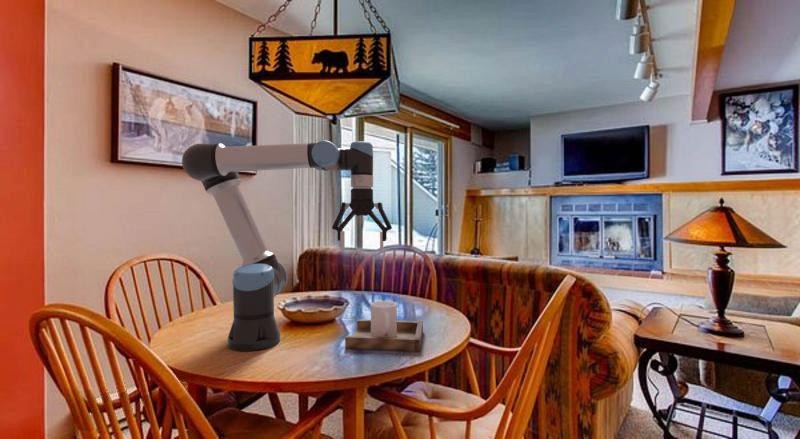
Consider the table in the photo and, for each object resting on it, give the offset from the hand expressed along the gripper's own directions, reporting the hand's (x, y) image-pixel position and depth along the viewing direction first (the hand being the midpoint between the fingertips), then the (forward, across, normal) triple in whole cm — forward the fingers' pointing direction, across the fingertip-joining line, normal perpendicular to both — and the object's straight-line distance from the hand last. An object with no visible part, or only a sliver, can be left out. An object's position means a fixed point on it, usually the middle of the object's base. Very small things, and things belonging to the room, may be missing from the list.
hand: (362, 250), depth 137 cm
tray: (+27, +10, -11) cm, 31 cm away
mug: (+26, +9, -11) cm, 30 cm away
